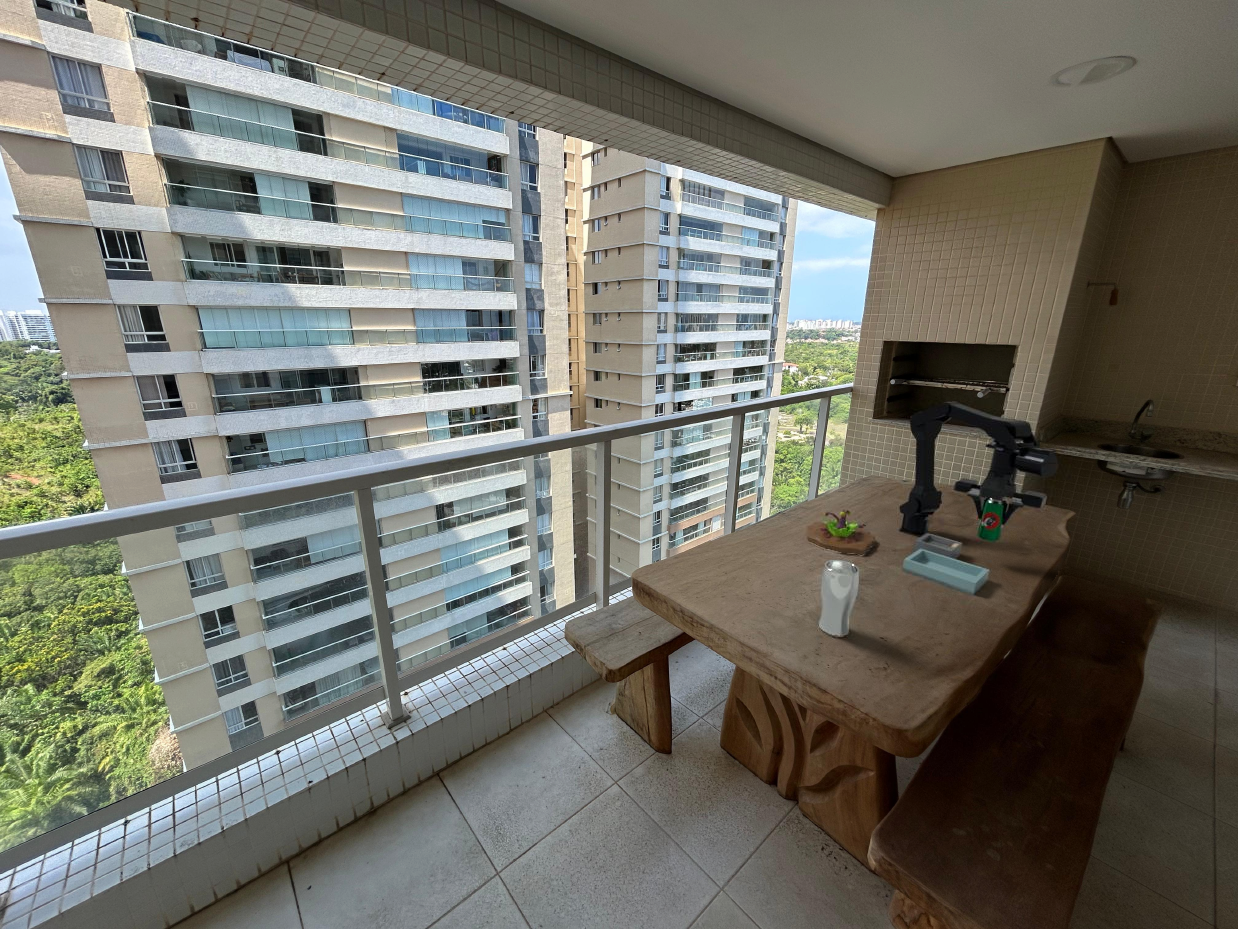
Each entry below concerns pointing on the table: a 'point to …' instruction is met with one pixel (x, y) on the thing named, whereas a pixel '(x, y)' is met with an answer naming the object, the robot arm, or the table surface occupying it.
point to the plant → (840, 535)
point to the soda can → (992, 519)
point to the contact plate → (939, 544)
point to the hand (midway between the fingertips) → (991, 521)
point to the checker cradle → (950, 552)
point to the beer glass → (838, 596)
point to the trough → (946, 571)
